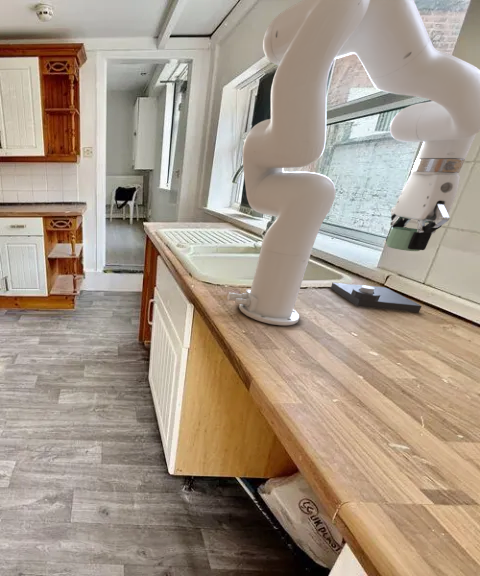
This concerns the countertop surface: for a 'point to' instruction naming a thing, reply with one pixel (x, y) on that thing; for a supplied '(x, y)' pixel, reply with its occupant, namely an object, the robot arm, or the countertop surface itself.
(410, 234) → the bowl
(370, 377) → the countertop surface
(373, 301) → the scale
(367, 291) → the tare button
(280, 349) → the countertop surface
